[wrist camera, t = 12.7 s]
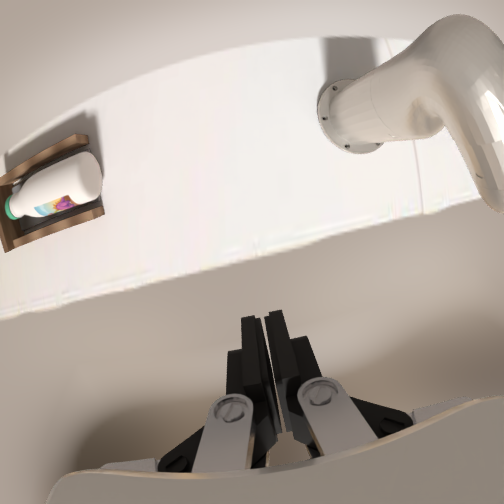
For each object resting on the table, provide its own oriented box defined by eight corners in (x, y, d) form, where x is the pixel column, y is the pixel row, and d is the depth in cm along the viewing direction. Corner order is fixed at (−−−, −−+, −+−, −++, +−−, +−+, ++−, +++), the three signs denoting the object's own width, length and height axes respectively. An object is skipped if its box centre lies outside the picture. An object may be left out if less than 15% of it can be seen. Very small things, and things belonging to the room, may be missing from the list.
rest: (87, 135, 37) (68, 133, 32) (104, 214, 42) (87, 221, 36) (7, 179, 38) (-12, 182, 32) (22, 243, 42) (4, 253, 36)
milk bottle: (95, 146, 37) (17, 182, 37) (72, 156, 30) (-7, 196, 30) (108, 190, 41) (30, 217, 41) (88, 207, 34) (8, 236, 34)
